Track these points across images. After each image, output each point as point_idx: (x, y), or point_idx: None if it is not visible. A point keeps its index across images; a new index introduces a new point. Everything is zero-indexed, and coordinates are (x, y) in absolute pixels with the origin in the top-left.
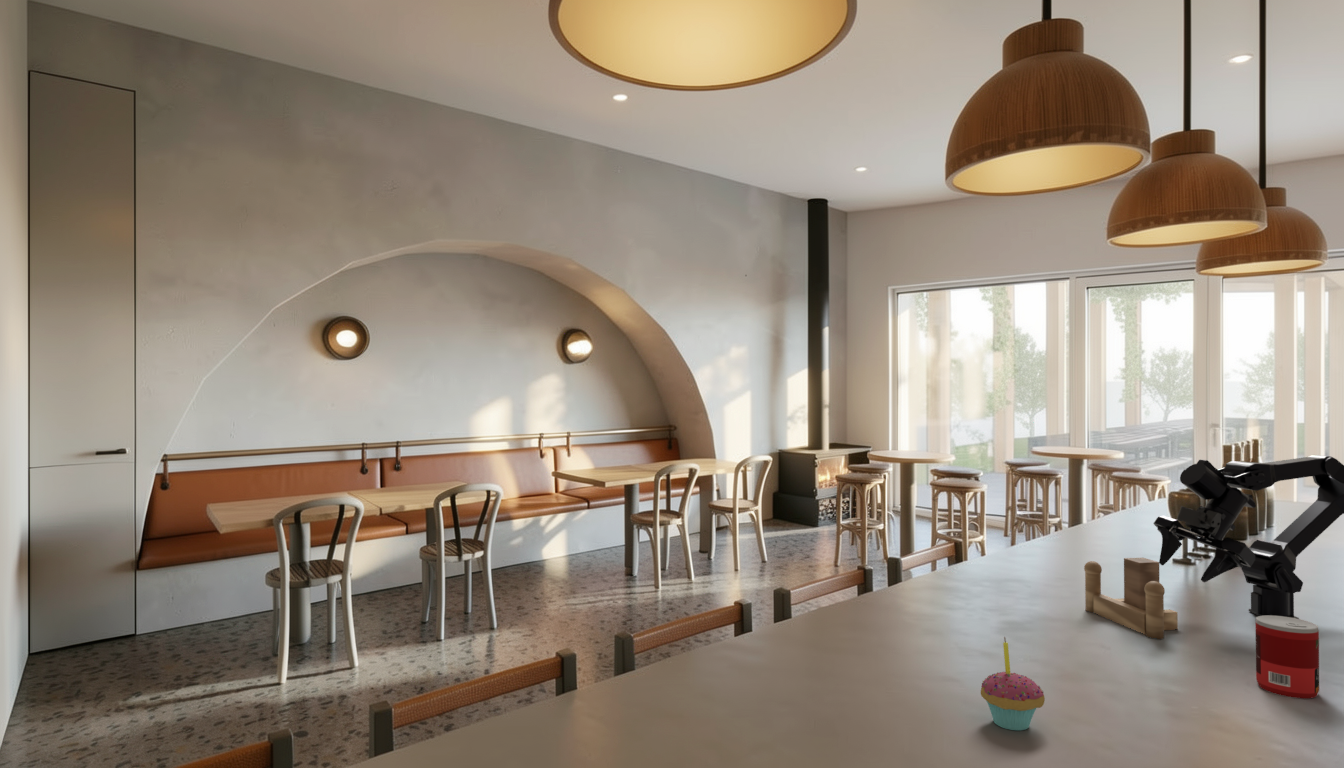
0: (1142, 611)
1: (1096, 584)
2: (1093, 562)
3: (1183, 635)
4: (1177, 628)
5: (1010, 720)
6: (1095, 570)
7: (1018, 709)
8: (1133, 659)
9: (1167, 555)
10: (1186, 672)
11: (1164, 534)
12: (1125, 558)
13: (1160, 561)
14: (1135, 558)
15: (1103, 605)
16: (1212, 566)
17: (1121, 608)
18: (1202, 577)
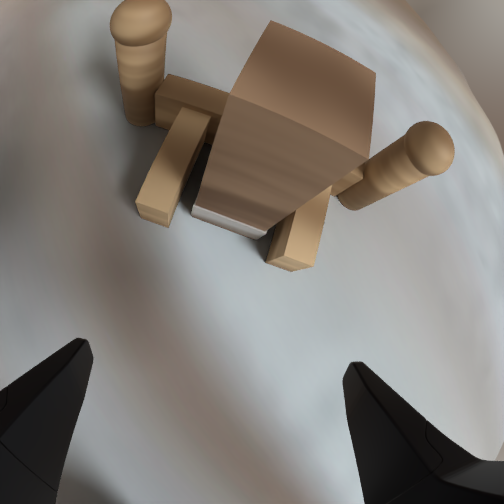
0: (186, 91)
1: (383, 152)
2: (439, 129)
3: (107, 180)
4: (141, 217)
5: None
6: (411, 126)
7: None
8: None
9: (367, 427)
10: (49, 23)
11: (494, 471)
12: (368, 69)
13: (359, 365)
14: (359, 99)
15: None
16: (12, 391)
17: None
18: (75, 344)
